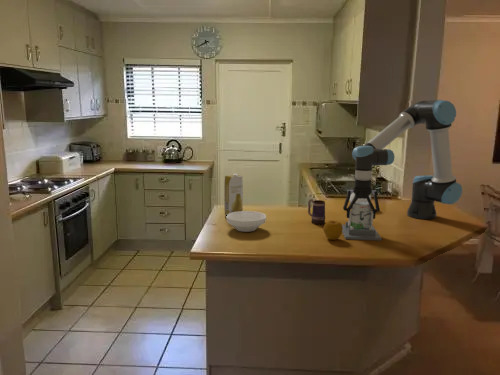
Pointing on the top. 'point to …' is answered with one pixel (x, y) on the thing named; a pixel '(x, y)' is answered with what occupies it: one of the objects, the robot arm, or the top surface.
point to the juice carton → (233, 193)
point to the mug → (317, 211)
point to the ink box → (360, 215)
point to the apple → (333, 230)
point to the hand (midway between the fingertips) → (360, 224)
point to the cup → (358, 198)
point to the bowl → (246, 220)
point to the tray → (360, 233)
